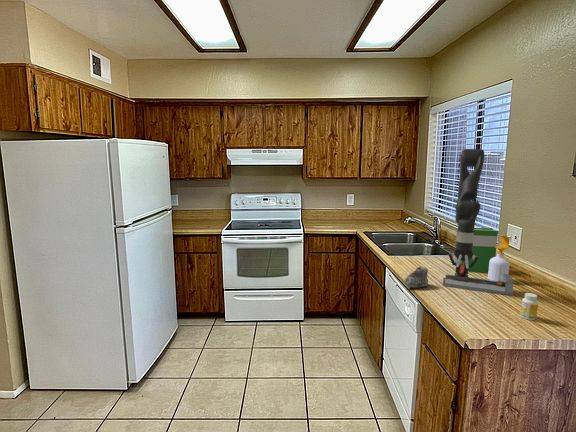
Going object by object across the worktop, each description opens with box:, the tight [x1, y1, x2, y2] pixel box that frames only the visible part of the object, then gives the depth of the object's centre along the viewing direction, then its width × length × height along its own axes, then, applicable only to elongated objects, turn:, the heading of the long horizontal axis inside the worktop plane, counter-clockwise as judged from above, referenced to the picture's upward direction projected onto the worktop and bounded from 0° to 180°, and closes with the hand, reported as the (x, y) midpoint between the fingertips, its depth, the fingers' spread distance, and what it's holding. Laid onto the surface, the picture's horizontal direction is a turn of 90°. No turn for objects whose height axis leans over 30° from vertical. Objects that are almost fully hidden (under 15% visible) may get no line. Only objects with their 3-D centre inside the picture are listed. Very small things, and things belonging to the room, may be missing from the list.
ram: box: [454, 263, 469, 282], centre depth 173 cm, size 6×6×10 cm
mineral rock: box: [404, 266, 429, 289], centre depth 173 cm, size 13×11×10 cm
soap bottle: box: [487, 233, 511, 282], centre depth 181 cm, size 9×9×25 cm
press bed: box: [442, 274, 514, 297], centre depth 171 cm, size 9×30×8 cm, turn 65°
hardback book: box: [460, 227, 499, 273], centre depth 198 cm, size 18×7×24 cm, turn 82°
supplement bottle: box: [519, 292, 539, 321], centre depth 139 cm, size 5×5×10 cm
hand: (461, 274), depth 174 cm, fingers closed on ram, 3 cm apart
